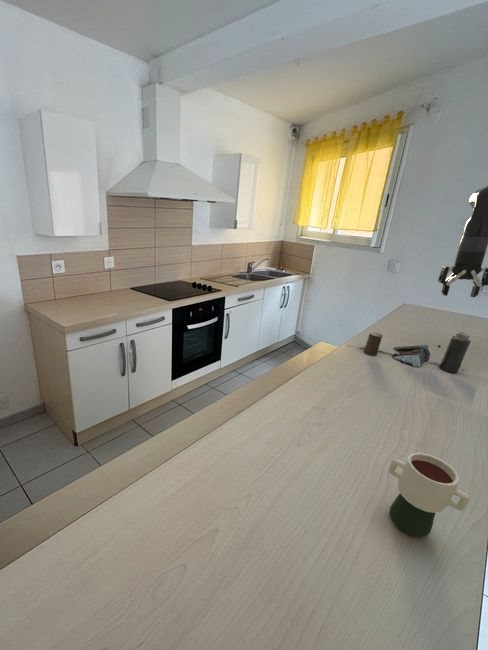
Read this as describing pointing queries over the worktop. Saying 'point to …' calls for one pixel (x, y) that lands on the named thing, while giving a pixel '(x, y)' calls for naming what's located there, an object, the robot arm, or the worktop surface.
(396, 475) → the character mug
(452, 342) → the pepper mill
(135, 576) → the worktop surface
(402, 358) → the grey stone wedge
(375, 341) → the cylinder
